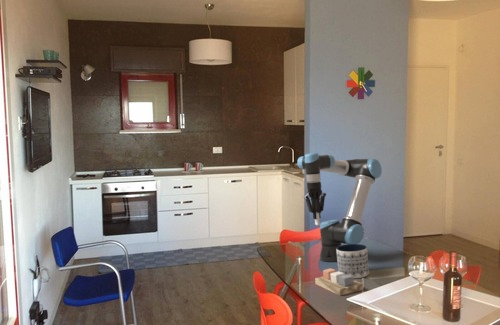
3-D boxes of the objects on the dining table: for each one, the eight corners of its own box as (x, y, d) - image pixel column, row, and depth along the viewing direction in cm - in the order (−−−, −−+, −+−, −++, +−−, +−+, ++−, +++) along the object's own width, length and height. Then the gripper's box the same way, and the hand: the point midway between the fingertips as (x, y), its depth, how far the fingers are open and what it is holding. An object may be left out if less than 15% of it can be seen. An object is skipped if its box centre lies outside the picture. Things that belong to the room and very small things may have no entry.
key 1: (331, 277, 241) (331, 268, 241) (337, 280, 236) (336, 270, 236) (323, 279, 239) (322, 269, 239) (328, 282, 234) (328, 272, 234)
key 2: (347, 284, 228) (347, 274, 228) (354, 286, 223) (353, 276, 223) (339, 286, 226) (338, 276, 226) (345, 289, 222) (344, 278, 221)
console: (337, 278, 244) (336, 273, 244) (363, 289, 224) (362, 283, 224) (315, 284, 239) (315, 278, 239) (340, 295, 219) (339, 289, 219)
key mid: (339, 280, 235) (338, 271, 234) (345, 283, 230) (344, 273, 230) (331, 283, 233) (330, 273, 232) (336, 285, 228) (335, 275, 228)
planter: (336, 278, 244) (333, 251, 244) (341, 270, 259) (338, 244, 259) (367, 279, 239) (365, 251, 238) (370, 270, 254) (368, 243, 253)
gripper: (320, 179, 261) (324, 222, 263) (299, 182, 256) (303, 225, 257) (327, 180, 254) (331, 223, 256) (306, 183, 249) (310, 227, 251)
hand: (317, 224), depth 257 cm, fingers closed
